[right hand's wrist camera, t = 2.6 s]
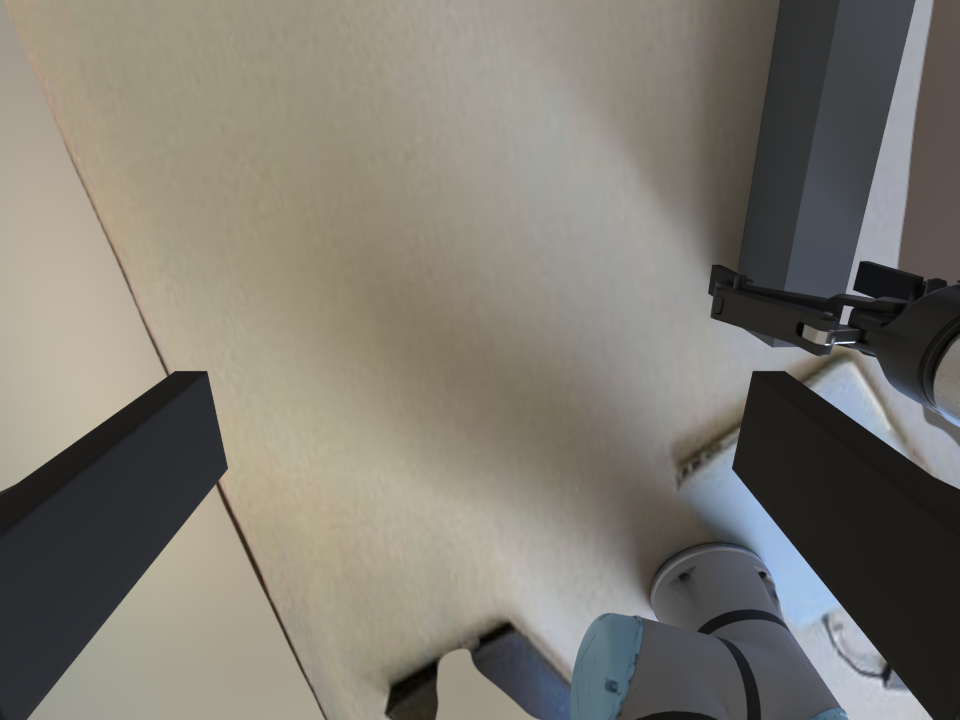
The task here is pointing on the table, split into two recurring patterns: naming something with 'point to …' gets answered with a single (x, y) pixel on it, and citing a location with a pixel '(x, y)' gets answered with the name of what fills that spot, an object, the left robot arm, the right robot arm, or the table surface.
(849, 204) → the post
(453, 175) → the table surface
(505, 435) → the table surface
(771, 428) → the right robot arm
